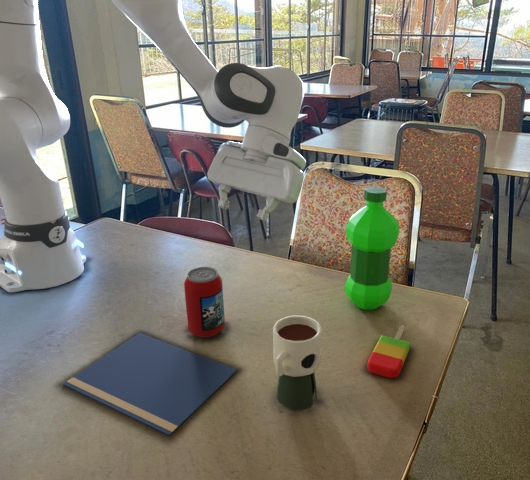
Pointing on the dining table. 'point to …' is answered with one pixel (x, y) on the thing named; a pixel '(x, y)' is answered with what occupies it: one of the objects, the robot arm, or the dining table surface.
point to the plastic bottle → (371, 251)
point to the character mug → (296, 360)
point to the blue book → (152, 382)
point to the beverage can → (204, 302)
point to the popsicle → (389, 355)
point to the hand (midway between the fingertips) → (241, 213)
